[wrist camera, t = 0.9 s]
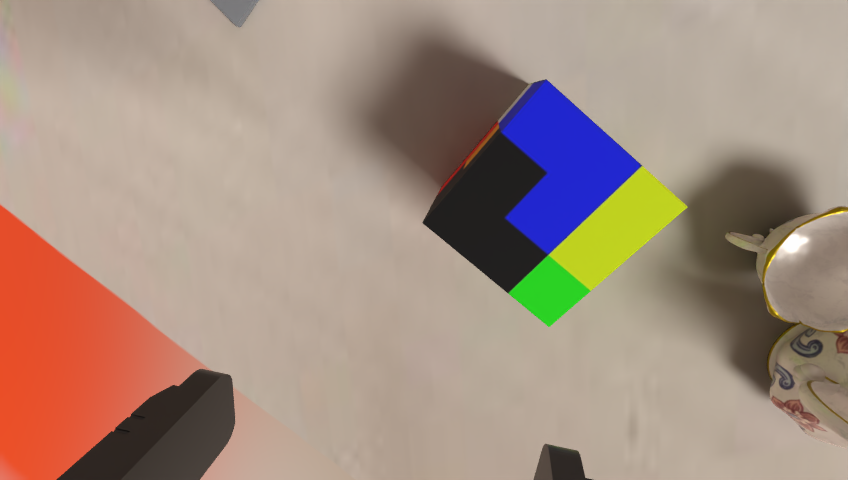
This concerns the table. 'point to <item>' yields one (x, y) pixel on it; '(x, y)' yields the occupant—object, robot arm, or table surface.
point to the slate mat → (236, 9)
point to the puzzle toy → (549, 204)
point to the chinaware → (808, 318)
